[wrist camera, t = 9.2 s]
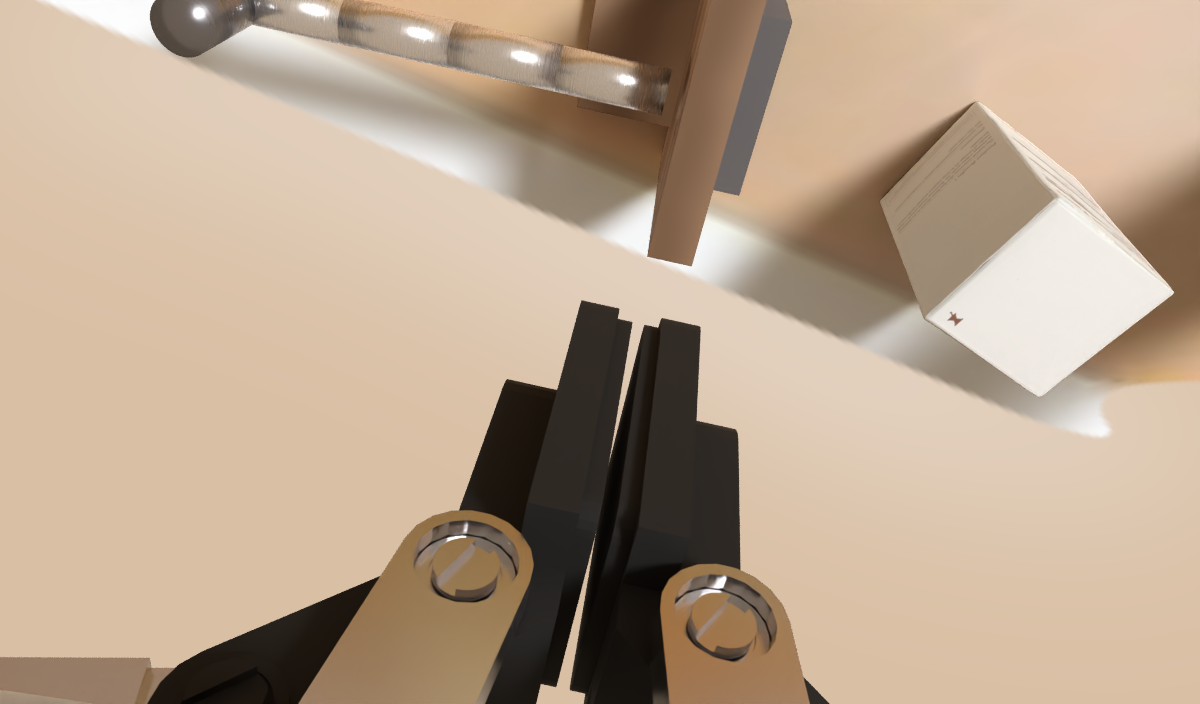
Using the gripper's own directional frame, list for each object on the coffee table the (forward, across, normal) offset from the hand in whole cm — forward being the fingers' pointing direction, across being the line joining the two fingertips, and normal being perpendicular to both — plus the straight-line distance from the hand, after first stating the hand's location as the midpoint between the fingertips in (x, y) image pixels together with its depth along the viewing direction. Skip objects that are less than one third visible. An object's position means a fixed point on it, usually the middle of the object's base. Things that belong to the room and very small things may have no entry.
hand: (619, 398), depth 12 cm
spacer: (+37, -4, +5) cm, 37 cm away
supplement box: (+37, -18, +9) cm, 42 cm away
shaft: (+30, +10, +5) cm, 32 cm away
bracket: (+37, +1, +5) cm, 37 cm away
